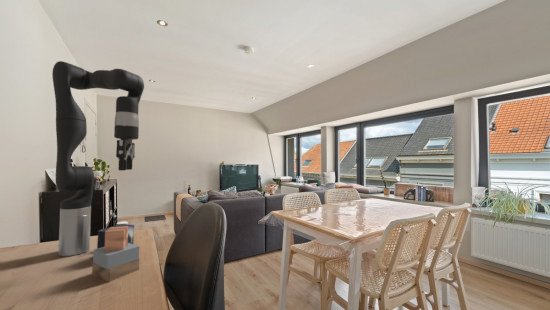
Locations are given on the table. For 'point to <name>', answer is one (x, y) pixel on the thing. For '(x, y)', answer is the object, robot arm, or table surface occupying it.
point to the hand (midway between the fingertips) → (125, 170)
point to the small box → (102, 232)
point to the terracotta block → (116, 238)
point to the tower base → (115, 270)
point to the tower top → (115, 256)
